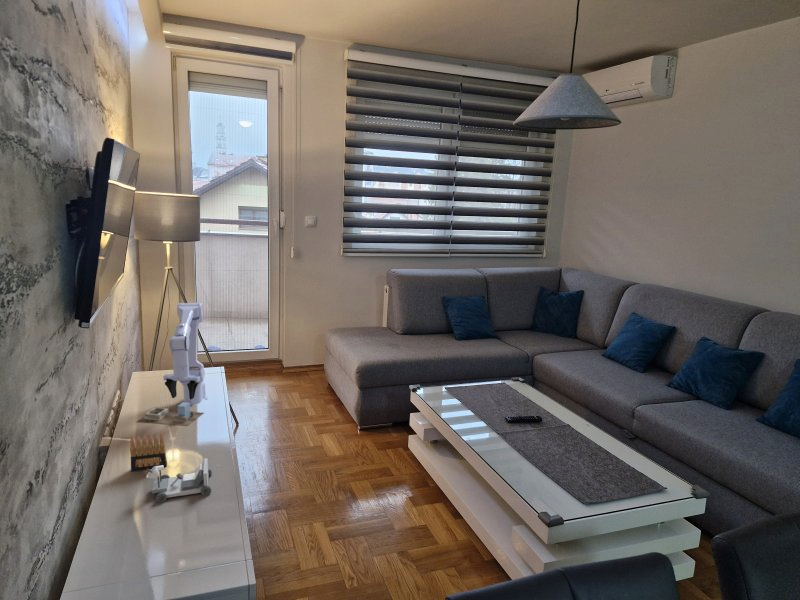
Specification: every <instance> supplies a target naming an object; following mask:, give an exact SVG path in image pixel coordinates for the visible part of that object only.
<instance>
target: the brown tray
mask: <svg viewBox="0 0 800 600" xmlns="http://www.w3.org/2000/svg"><path fill="white" fill-rule="evenodd" d="M190 413H191V417H190V418H188V419H187V416H178V410H171V409H170V408H169V407H168V408H167V407H158V406H157V407H155V406H154V407H152V409H150V410H148V411H146V412H145V413H143V416H142V417H141V418H140V419H138V420H137V421H135V423H143V424H156V425H157V424H158V425H169V426H170V425H171V426H181V427H182V426H183V427H189V426H190V425H191V424H193V422H195V421H197V419H199V418H200V417H201V416H202V415H203V414H205V412H198V411H195V410H190Z"/></svg>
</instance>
